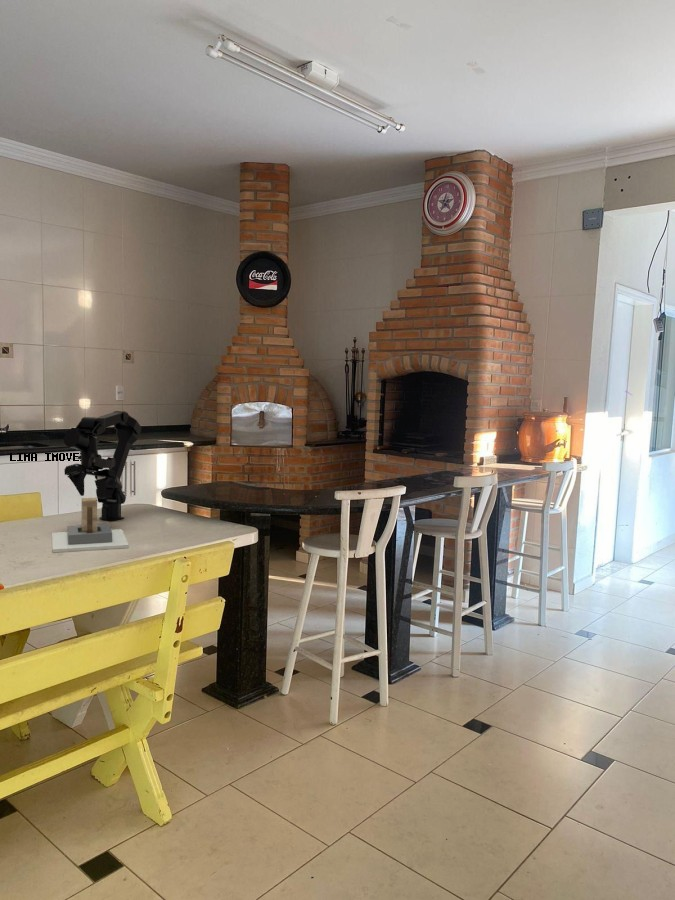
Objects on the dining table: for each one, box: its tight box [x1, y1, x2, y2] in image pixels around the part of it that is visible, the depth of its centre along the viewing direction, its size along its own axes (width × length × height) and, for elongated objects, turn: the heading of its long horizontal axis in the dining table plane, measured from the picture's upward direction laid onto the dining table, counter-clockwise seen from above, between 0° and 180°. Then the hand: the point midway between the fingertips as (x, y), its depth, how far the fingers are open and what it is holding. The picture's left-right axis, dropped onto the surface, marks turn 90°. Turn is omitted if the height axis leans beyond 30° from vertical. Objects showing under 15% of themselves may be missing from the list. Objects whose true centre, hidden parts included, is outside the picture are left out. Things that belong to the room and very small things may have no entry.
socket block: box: [51, 523, 129, 553], centre depth 219 cm, size 22×22×4 cm
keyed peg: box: [81, 496, 98, 533], centre depth 218 cm, size 6×4×13 cm
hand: (92, 496), depth 232 cm, fingers open, 9 cm apart
